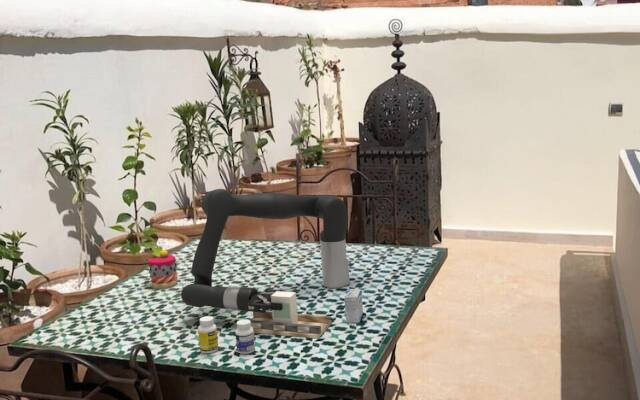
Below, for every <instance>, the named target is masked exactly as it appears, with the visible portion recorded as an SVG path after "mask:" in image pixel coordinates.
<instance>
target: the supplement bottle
mask: <svg viewBox="0 0 640 400" xmlns="http://www.w3.org/2000/svg"><path fill="white" fill-rule="evenodd" d="M214 322H215V320H214V317H213V316H208V315H207V316H203V317H200V318H199V326H198V327H197V334H198V345H199V346H198V347H199V351H200V353H202V354H213V353H215V352H217V351H218V350H219V340H218V339H219V338H218V337H219V336H218V328H217V325H216V324H215V323H214Z"/></svg>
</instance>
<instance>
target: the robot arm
mask: <svg viewBox="0 0 640 400" xmlns="http://www.w3.org/2000/svg"><path fill="white" fill-rule="evenodd" d="M200 206H201V209H202V211H203V213H204V214H206V220H205V221H206V222H205V225H204V229H203V232H202V234H201V237H200V240H199V242H198V244H197V247H196V249H195V252H194V256H193V260H192V266H191V269H190V273H191V275H192V276H193V278H194V281H193V282H194V283H189V284H186V285H185V286H184V287H183V288H182V289H181V292H180V298H181V300H182V302H183V303H184V304H186V305H187V306H190V307H191V306H192V307H194V308H203V307H211V308H215V309H223V310H230V311H240V312H242V311H243V312H251V313H253V312H260V313H266V311H267V312H271V311H272V310H279V311H281V310H282V309H283V305H282V303H274V302H271V295H273V294H274V293H275V292H276V291H281V292H284V290H283V289H272V288H271V289H267V288H266V289H265V291H263V292H259V291H258V289H257V288H256V287H250V286H249V287H248V286H246V287H245V286H213V272H214V268H215V263H216V258H217V255H218V250H219V246H220V242H221V239H222V235H223V232H224V229H225V227H226V223H227V222H228V219H229V217H239V216H241V217H248V218H257V219H268V220H287V219H288V220H289V219H293V218H296V217H297V218H298V217H312V218H318V219H322V221H323V222H322V223H323V225H322V226H323V228H322V231H321V230H320V233H319V240H320V241H319V242H320V256H321V276H322V286H324V287H325V288H329V289H330V288H331V289H338V288H343V287H346V286H348V285H351V282H350V267H349V263H350V262H349V259H348V258H347V244H346V242H347V241H346V233H347V230H348V217H347V216H348V214H347V206H346V204H345V202H344V201H343V200H342V199H341V198H339V197H337V196H335V195H331V194H319V195H299V194H295V193H293V194H292V193H284V192H257V193H249V194H248V193H247V194H232V193H230V191H228V190H227V189H225V188H216V189H213V190H211V191H209V192H207V193H205V195H204V196H203V197H202V199H201V202H200Z"/></svg>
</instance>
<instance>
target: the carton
mask: <svg viewBox="0 0 640 400" xmlns="http://www.w3.org/2000/svg"><path fill="white" fill-rule="evenodd" d="M271 302H274V303H282V305H283V309H282V310H281V311H279V310H271V312H272V317H273V322H279V323H291V324H297V323H298V316H297V314H298V306H297V305H298V303H297V292H295V291H283V292H281V291H276V292H275V293H274V294H273V295H271Z"/></svg>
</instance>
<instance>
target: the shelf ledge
mask: <svg viewBox="0 0 640 400" xmlns="http://www.w3.org/2000/svg"><path fill="white" fill-rule="evenodd" d="M252 316H253V317H252V318H251V319H249V320H250V322H251V326H250V327H252V328H253V331H254V334H263V335H264V334H266V335H273V336H287V337H298V338H306V339H307V338H310V339H319V338H320V337H321V336H322V335H323V334H324V333H325V332H326V330H328V328H329V327H330V326H331V325H332V320H331V319H330V318H331V317H330V315H320V314H319V315H318V314H317V315H315V314H308V313H307V314H304V313H297V316H298V323H297V324H291V323H279V322H273V317H272V311H266V313H260V312H252Z"/></svg>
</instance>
